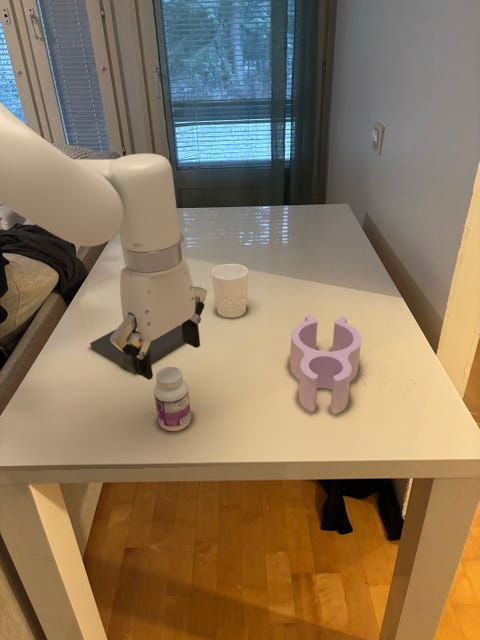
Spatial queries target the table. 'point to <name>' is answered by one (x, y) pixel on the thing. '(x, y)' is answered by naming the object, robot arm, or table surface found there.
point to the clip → (324, 362)
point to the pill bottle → (172, 399)
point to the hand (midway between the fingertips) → (169, 359)
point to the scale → (155, 349)
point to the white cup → (230, 289)
